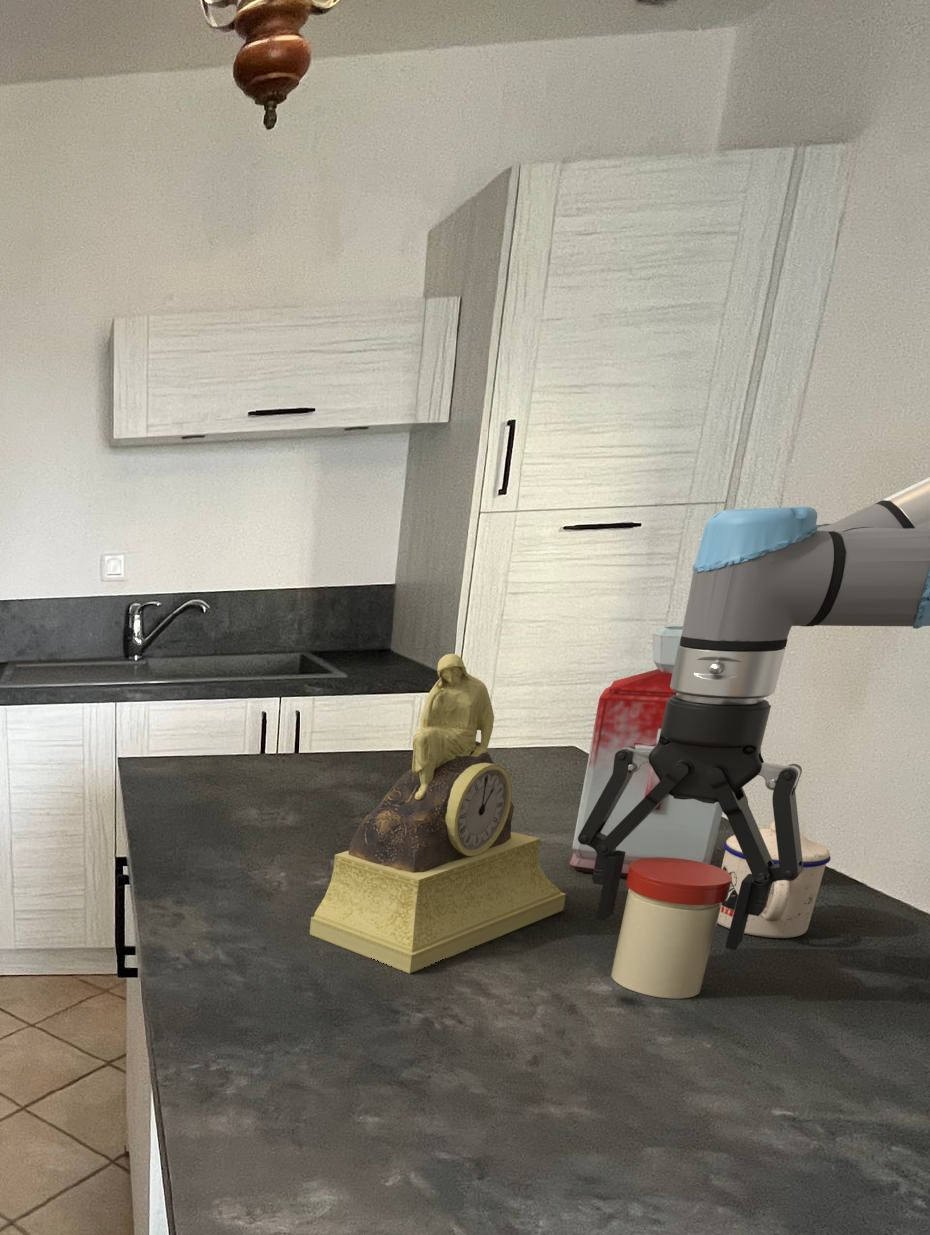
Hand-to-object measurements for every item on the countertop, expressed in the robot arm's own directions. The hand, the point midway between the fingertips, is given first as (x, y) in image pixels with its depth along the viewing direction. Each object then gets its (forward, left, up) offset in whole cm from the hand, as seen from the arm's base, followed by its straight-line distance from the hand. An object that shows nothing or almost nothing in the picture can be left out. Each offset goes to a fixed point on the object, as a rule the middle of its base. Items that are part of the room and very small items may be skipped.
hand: (666, 929), depth 94 cm
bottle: (+3, -35, -6) cm, 36 cm away
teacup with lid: (-9, -20, -6) cm, 23 cm away
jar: (0, 0, -6) cm, 6 cm away
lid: (0, 0, +6) cm, 6 cm away
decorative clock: (+21, -6, -6) cm, 23 cm away
